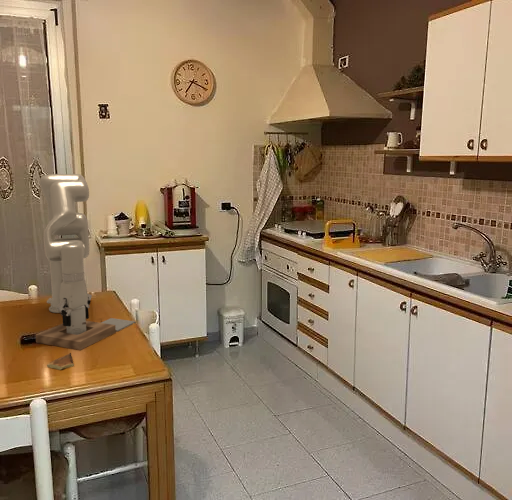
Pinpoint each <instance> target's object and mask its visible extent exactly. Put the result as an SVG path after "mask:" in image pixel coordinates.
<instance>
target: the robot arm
mask: <svg viewBox="0 0 512 500" xmlns="http://www.w3.org/2000/svg"><path fill="white" fill-rule="evenodd" d="M39 186H40V187H39V188H40V190H41V193H42V195H43V197H44V199H45V201H46V204H47V219H48V223H47V225H46V227H45V228H44V230H43V238H42V239H43V247H44V248H43V249H44V255H45V258H46V259H47V261H48V263H49V271H50V283H51V284H50V285H51V297H48V299H47V300H46V303H47V304H50V306H49V307H48V310H49V312H50V313H54V314H58V313H59V314H60V316H62V319H61V320H62V323H63V326H71V317H70V316H69V314H70V312H71V310H72V309H75V308H78V307H80V306H83V305H84V306H85V313H86V320H88V319H90V315H89V312H90V311H89V308H90V305H91V302H92V301H91V300H92V298H93V296H92V294H90V293H88V289H87V288H88V287H87V283H86V279H85V270H84V269H85V267H84V259H85V258H86V259H87V258H88V257H89V255H90V237H89V235H90V233H89V222H88V218H87V216H86V214H84V213H82V212H77V210H76V203H80V202H83V203H84V202H87V201H88V200H89V198H90V189H89V185H88V182H87V181H86V179H85V177H84V176H83V175H82V174H79V173H65V174H64V173H54V174H53V173H52V174H44V175H42V176H41V177H40V178H39ZM52 235H53V236H77V237H60V238H54V239H52ZM66 310H67V312H66Z"/></svg>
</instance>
